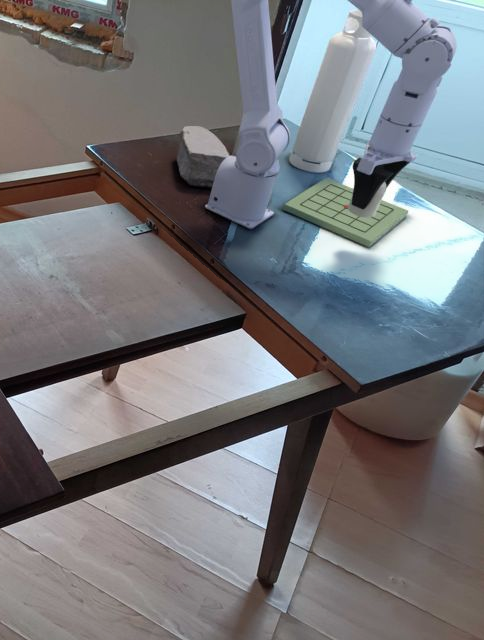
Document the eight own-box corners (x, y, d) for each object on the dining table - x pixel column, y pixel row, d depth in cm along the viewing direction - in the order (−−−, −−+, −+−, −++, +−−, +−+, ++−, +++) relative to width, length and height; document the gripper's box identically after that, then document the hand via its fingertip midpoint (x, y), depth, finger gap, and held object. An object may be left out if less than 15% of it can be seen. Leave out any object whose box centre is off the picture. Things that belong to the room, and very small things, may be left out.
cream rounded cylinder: (342, 209, 109) (357, 174, 105) (354, 201, 112) (369, 167, 108) (368, 220, 107) (384, 185, 103) (379, 212, 110) (395, 177, 106)
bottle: (339, 169, 136) (398, 19, 118) (307, 174, 134) (363, 22, 115) (311, 152, 142) (364, 5, 123) (280, 156, 139) (329, 8, 121)
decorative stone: (196, 197, 124) (241, 187, 127) (203, 162, 120) (250, 152, 123) (153, 162, 135) (196, 154, 138) (158, 128, 130) (202, 121, 133)
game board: (282, 209, 122) (284, 203, 121) (323, 183, 131) (325, 176, 130) (368, 247, 114) (371, 240, 113) (406, 216, 123) (409, 210, 122)
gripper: (408, 141, 93) (369, 227, 102) (447, 115, 101) (408, 197, 110) (359, 123, 97) (325, 208, 106) (401, 100, 105) (366, 181, 114)
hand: (364, 201), depth 108 cm, fingers closed on cream rounded cylinder, 4 cm apart
